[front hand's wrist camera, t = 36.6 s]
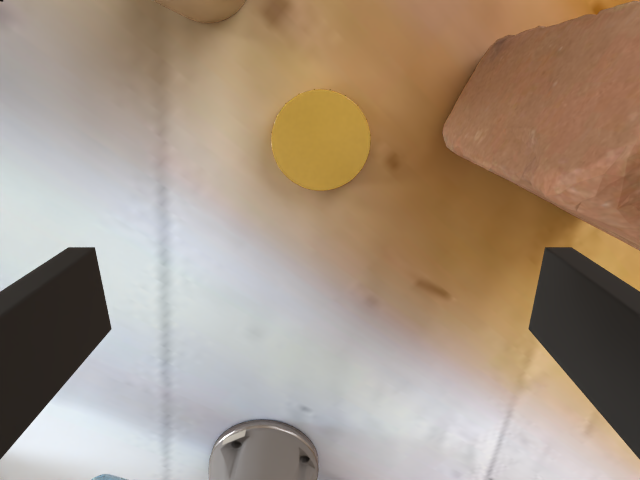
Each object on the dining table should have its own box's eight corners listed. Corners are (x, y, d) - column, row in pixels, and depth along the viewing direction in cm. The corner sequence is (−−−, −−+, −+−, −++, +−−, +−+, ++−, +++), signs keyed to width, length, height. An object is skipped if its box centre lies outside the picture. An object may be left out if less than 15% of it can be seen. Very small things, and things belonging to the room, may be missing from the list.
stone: (665, 137, 43) (1181, 208, 17) (594, 228, 47) (928, 406, 20) (490, 36, 41) (776, -67, 14) (430, 141, 44) (568, 213, 18)
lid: (379, 172, 45) (380, 175, 44) (289, 198, 46) (288, 202, 45) (355, 76, 42) (356, 75, 40) (259, 106, 43) (257, 106, 41)
